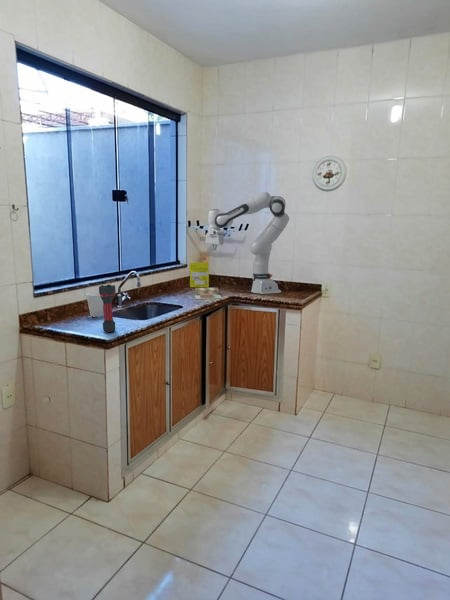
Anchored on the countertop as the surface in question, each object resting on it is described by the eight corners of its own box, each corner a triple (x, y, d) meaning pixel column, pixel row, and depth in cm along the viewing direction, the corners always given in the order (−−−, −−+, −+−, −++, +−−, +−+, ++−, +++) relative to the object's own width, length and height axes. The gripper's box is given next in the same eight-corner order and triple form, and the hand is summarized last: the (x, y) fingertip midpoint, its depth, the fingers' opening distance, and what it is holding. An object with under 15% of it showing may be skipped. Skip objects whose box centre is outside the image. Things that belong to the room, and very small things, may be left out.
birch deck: (216, 292, 308) (216, 287, 307) (218, 295, 298) (218, 289, 297) (195, 293, 305) (195, 288, 305) (196, 295, 296) (196, 290, 295)
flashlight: (110, 335, 195) (108, 287, 191) (97, 333, 198) (95, 286, 194) (121, 331, 202) (118, 284, 197) (108, 329, 205) (106, 283, 201)
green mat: (219, 295, 297) (219, 294, 297) (222, 298, 285) (222, 298, 285) (195, 295, 295) (195, 295, 295) (196, 299, 282) (196, 298, 282)
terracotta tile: (213, 294, 285) (213, 297, 286) (213, 293, 291) (213, 296, 292) (200, 295, 285) (200, 297, 285) (200, 293, 291) (200, 296, 291)
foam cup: (86, 315, 234) (84, 293, 232) (102, 314, 239) (101, 291, 236) (89, 319, 226) (88, 296, 224) (106, 317, 231) (105, 294, 228)
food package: (208, 287, 334) (208, 262, 330) (208, 287, 333) (208, 262, 329) (190, 286, 336) (189, 262, 332) (190, 287, 335) (189, 262, 331)
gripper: (203, 231, 312) (203, 249, 315) (217, 232, 296) (218, 251, 298) (210, 231, 316) (210, 249, 318) (225, 231, 299) (225, 251, 302)
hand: (214, 250), depth 308 cm, fingers closed
